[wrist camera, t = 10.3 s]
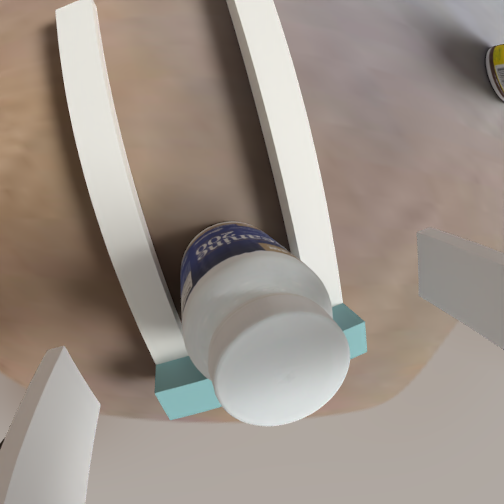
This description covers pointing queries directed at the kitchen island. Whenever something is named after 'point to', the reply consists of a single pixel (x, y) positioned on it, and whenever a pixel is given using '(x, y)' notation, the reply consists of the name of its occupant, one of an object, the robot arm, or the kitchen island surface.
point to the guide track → (129, 209)
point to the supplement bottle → (496, 68)
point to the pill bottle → (259, 326)
